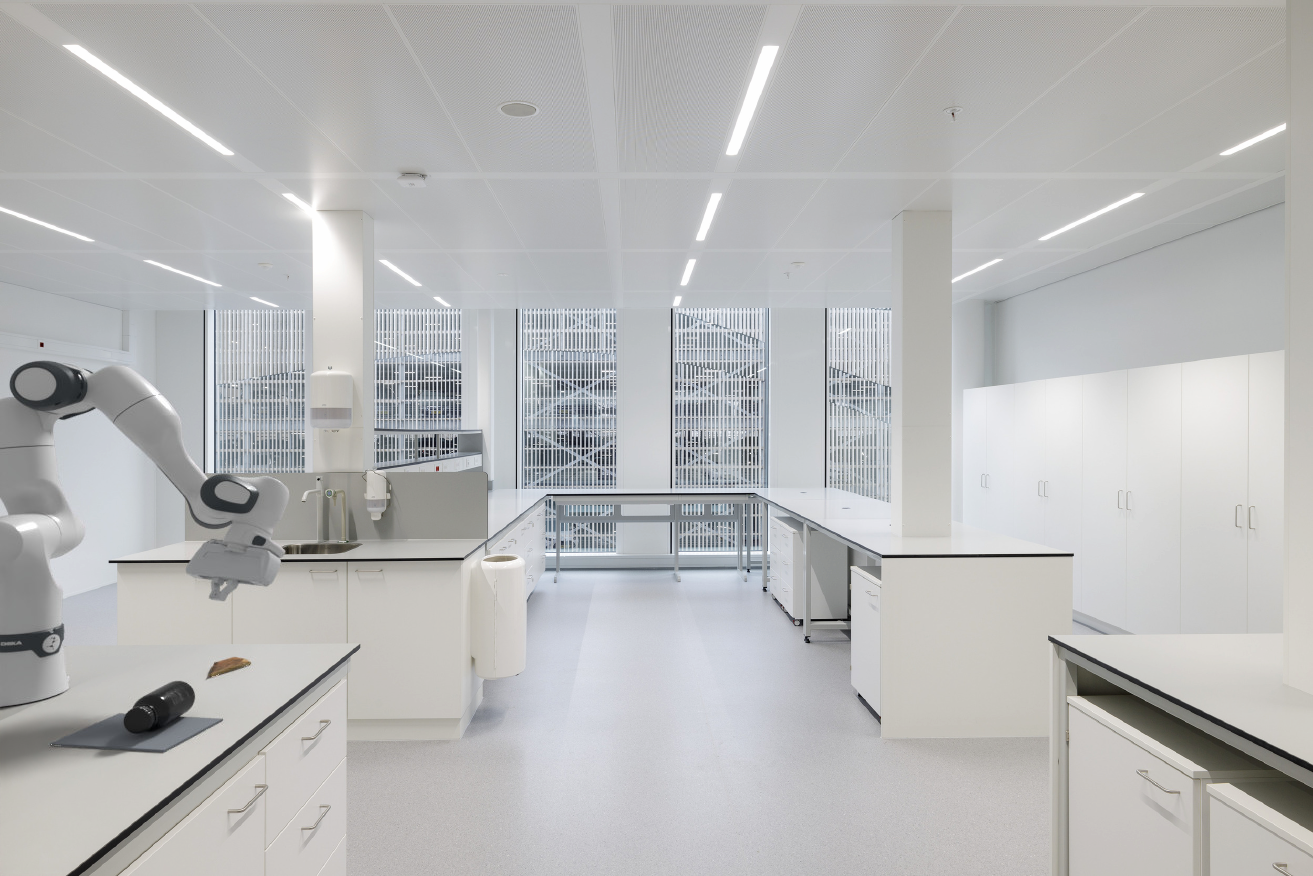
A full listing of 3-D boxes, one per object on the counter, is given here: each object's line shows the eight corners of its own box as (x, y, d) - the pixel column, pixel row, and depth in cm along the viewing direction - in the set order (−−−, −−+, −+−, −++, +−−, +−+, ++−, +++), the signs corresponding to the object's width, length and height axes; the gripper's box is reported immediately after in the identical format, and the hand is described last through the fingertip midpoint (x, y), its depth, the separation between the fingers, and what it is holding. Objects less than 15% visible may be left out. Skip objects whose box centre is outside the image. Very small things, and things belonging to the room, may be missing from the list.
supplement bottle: (158, 682, 133) (115, 704, 121) (195, 677, 134) (155, 698, 122) (162, 717, 133) (118, 742, 121) (198, 712, 133) (158, 736, 121)
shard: (209, 680, 155) (209, 672, 155) (186, 676, 158) (187, 668, 158) (252, 667, 166) (252, 659, 166) (230, 663, 168) (230, 655, 168)
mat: (49, 745, 119) (49, 743, 119) (119, 715, 133) (119, 713, 133) (164, 752, 117) (164, 750, 117) (222, 720, 131) (223, 718, 131)
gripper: (197, 532, 155) (165, 589, 147) (276, 541, 151) (247, 600, 144) (215, 543, 160) (185, 599, 153) (292, 552, 157) (264, 609, 149)
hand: (216, 600), depth 148 cm, fingers closed
